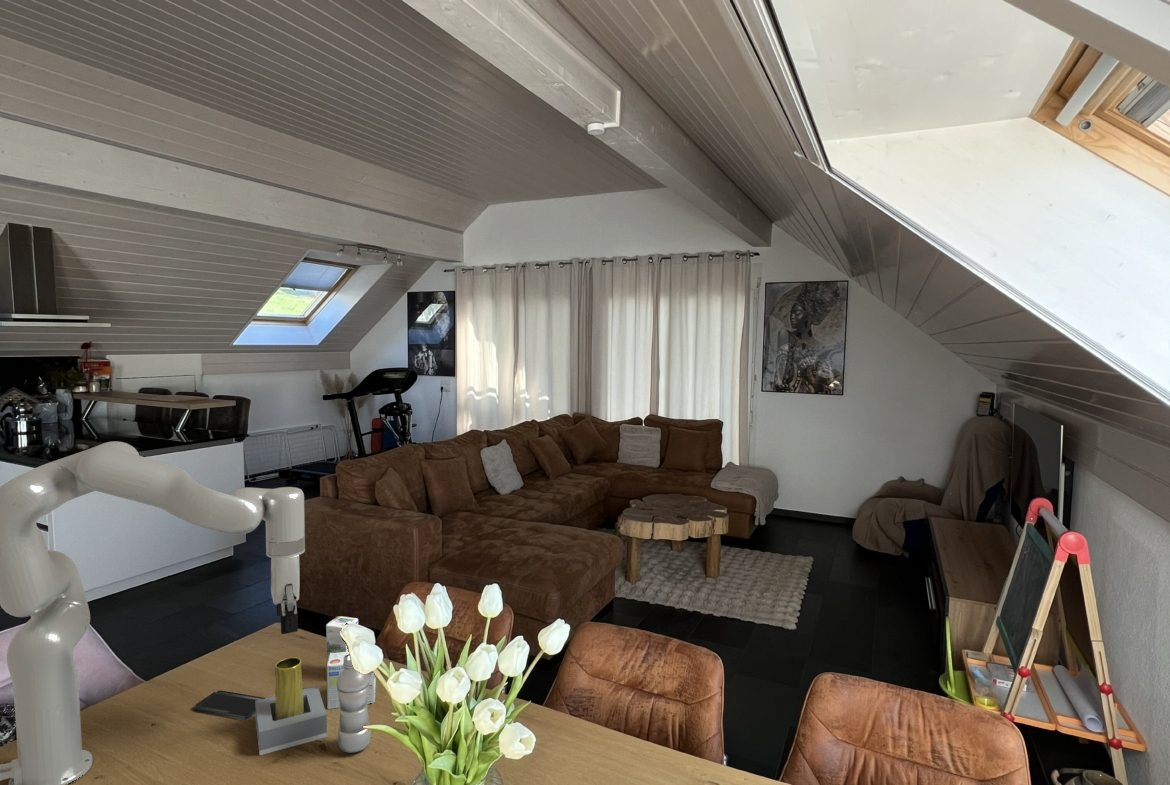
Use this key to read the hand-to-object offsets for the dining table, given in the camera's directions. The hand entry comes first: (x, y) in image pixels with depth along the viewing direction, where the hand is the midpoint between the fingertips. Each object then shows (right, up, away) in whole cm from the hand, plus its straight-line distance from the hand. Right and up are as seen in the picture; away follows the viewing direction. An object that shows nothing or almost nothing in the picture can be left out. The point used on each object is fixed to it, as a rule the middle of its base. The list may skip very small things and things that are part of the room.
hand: (287, 623), depth 140 cm
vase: (0, -23, +2) cm, 23 cm away
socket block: (0, -24, +2) cm, 24 cm away
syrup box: (+3, -22, +25) cm, 33 cm away
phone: (-18, -24, +11) cm, 31 cm away
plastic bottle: (+16, -25, -3) cm, 30 cm away
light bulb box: (+9, -24, +14) cm, 29 cm away
